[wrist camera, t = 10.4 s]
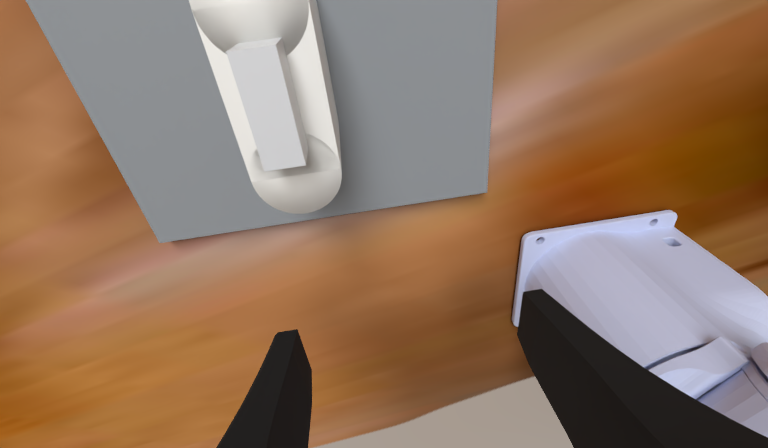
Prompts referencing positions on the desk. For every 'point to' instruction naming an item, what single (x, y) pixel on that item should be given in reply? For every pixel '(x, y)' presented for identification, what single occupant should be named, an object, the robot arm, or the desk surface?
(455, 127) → the desk mat
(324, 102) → the connector plug
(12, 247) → the desk surface
